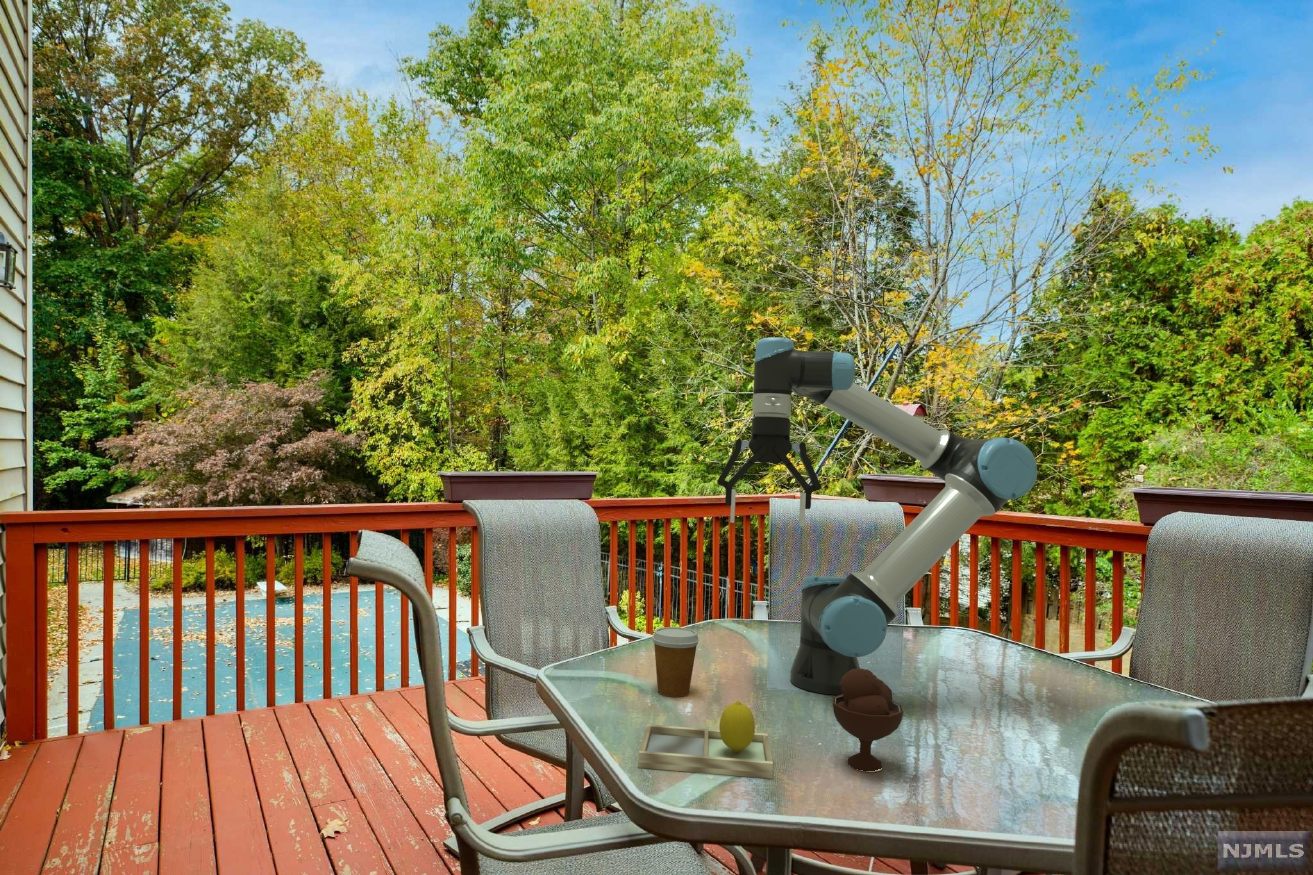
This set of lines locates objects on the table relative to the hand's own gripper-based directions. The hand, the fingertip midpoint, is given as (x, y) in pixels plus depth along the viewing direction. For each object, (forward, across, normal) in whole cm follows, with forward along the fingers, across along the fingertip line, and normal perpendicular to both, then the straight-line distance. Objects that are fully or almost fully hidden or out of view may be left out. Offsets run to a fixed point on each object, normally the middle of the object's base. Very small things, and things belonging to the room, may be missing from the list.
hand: (766, 524), depth 144 cm
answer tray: (+35, -10, -29) cm, 46 cm away
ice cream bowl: (+35, +15, -27) cm, 47 cm away
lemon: (+34, -5, -29) cm, 45 cm away
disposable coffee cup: (+35, -17, +2) cm, 39 cm away
